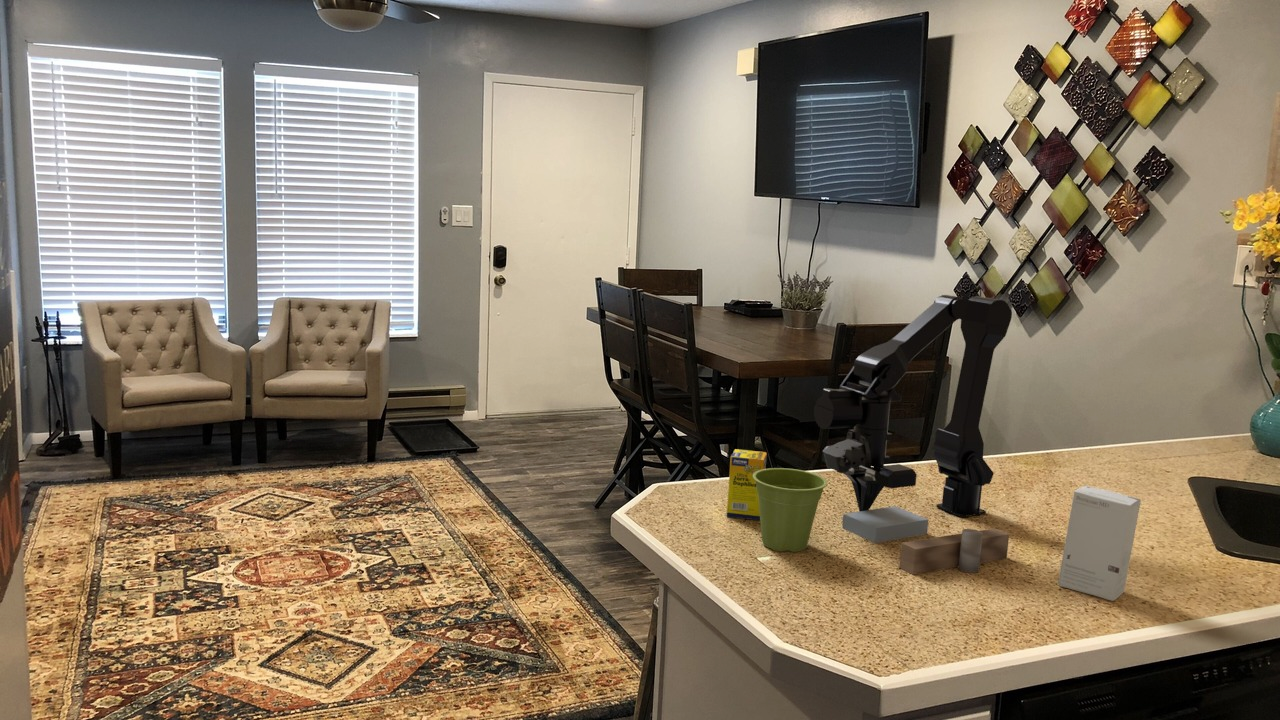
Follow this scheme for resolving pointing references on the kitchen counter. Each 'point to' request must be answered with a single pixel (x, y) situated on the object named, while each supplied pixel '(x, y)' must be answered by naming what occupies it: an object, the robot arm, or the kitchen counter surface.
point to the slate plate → (885, 524)
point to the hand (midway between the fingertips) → (863, 512)
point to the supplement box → (744, 484)
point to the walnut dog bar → (954, 551)
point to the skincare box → (1099, 542)
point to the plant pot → (787, 506)
